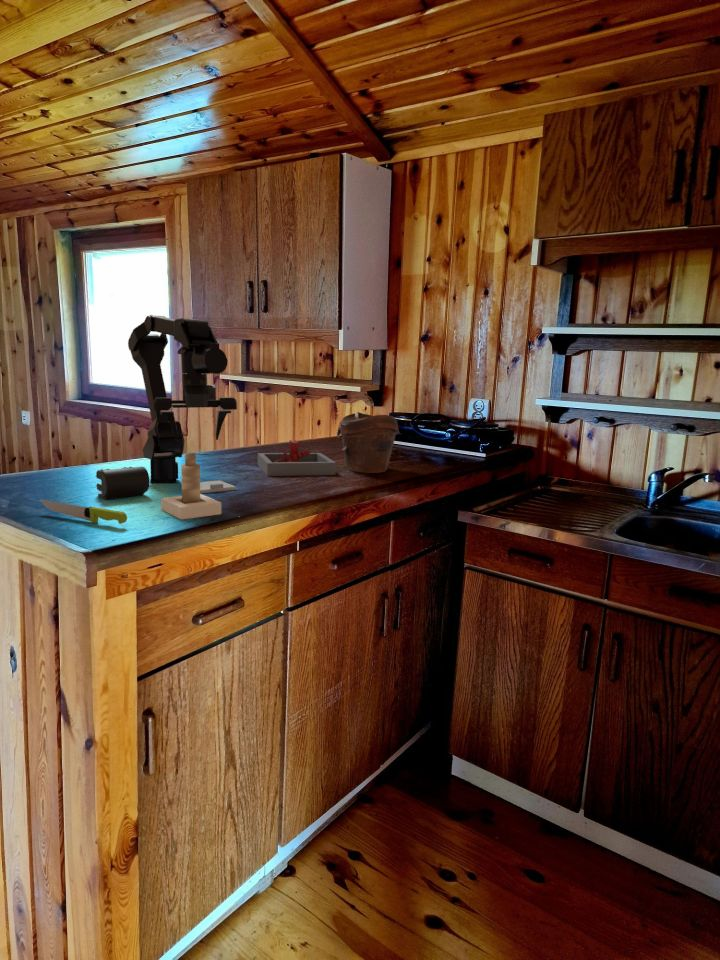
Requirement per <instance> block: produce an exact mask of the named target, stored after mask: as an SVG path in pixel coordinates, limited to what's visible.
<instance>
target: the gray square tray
mask: <svg viewBox="0 0 720 960" xmlns="http://www.w3.org/2000/svg"><path fill="white" fill-rule="evenodd" d="M286 453H287V454H286V458H287V457H289V453H290V452H286ZM282 459H284V453H283V452H274V453H273V452H266V453H265V452H264V453H263V452H257V466H258V467H259V468H260V470H262V472H263V473H264V474H265V475H266V476H267V477H275V476H276V477H278V476H280V477H284V476H285V477H286V476H287V477H288V476H289V477H291V476H293V477H294V476H336V471H337V462H335V461H334V460H333V459H331V458H329V457H328V456H326V455H324V454H323V453H321V452H310V454H309V455H307V456H305V457H302V458H300V459H299V460H300V462H275V461H277V460H282Z"/></svg>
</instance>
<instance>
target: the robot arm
mask: <svg viewBox="0 0 720 960" xmlns="http://www.w3.org/2000/svg"><path fill="white" fill-rule="evenodd" d="M151 332H156V333H160V335H159V334H153V333H152V334H151ZM167 335H169V336H171V337H172V336H173V340H174V341H176V342H177V343H179V344H181V347H180V348H179V349H178V350H177V354H178V355H180V359H181V362H180V364H181V365H180V366H181V385H182V399H181V400H180V399H178V400H177V399H176V400H175V399H172V397H168V396H167V391H166V390H167V389H166V386H165V381H164V378H163V372H162V371H163V370H162V365H161V363H162V361H163V359H164V357H165V348H166V347H167V345H168V343H169V340H168V336H167ZM127 345H128V346H127V347H128V350H129V351H130V354H131V358H132V360H133V361H134V363H136V365H137V366H139V368H140V370H141V374H142V378H143V383H144V389H145V395H146V399H147V402H148V403H147V404H148V408H149V413H150V417H151V423H150V425H149V426H150V427H149V428H148V431H147V437H148V438H147V440H146V442H145V444H144V446H143V448H142V453H143V454H142V455H143V458H145V459H148V460H150V463H149V464H150V465H149V467H150V476H149V480H150V484H151V483H152V484H155V483H158V484H159V483H177V481H178V479H179V462H177V461H176V458H183V454H184V453H183V452H184V448H185V437H184V434H183V430H182V426H181V425H182V424H181V422H180V421H179V420H178V421H176V419H175V418H176V417H175V413H174V409H177V408H178V409H180V408H182V409H183V408H185V409H187V408H189V409H190V408H192V409H194V408H218V409H217V411H216V419H215V421H216V423H215V440H216V441H218V440H219V436H220V433H221V430H222V426H223V423H224V421H225V418H226V417H227V415H228V414H232V411H236V410H238V407H237V406H238V405H237V404H238V403H237V399H236V398H235V397H233V396H226V397H225V396H219V397H217V391H216V385H215V384H208V375H219V374H222V373H223V372H224V371H225V370H226V369H227V367H228V360H229V359H228V358H227V355H226V353H225V352H224V351H223V350H222V349H221V348H220V343H218V340H217V339H216V337H215V335H214V333H213V330H212V328H211V326H210V325H209V322H208V320H206V319H196V318H195V319H194V318H184V317H183V318H182V317H181V318H180V317H179V318H176V319H175V318H169V317H167V316H165V315H154V314H150V315H147V316H146V317H145V320H144V321H143V322H141V324H139V325H137V326H136V327H134V329H132V332H131V334H130V336H129V338H128V341H127Z"/></svg>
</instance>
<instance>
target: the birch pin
mask: <svg viewBox="0 0 720 960" xmlns="http://www.w3.org/2000/svg"><path fill="white" fill-rule="evenodd" d="M180 470H181V474H180V475H181V496H182V503H184V504H188V503H197V502H200V482H201V465H200V464H197V453H195V452H186V453H184V464H181V467H180Z"/></svg>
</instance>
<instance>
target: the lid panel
mask: <svg viewBox="0 0 720 960" xmlns="http://www.w3.org/2000/svg"><path fill="white" fill-rule="evenodd" d="M235 490H237V486H235V485H233V484H230V483H228V482H225V481H222V480H210V481H200V494H208V493H216V492H218V493H219V492H228V491H235Z"/></svg>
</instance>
